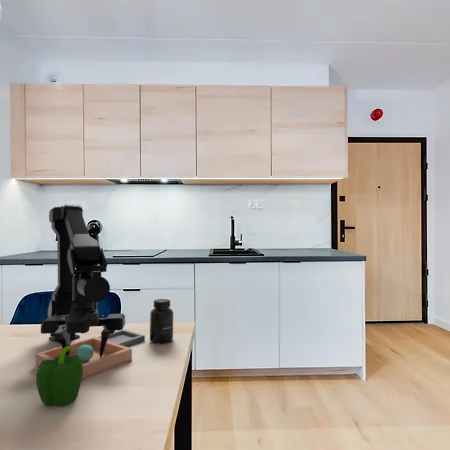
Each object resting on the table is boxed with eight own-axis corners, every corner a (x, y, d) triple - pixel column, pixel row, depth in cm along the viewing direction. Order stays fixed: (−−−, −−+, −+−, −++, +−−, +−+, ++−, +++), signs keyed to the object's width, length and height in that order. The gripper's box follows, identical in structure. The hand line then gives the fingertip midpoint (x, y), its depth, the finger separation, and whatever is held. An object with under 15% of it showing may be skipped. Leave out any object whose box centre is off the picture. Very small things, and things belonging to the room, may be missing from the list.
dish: (35, 366, 82) (35, 353, 82) (94, 347, 95) (94, 336, 95) (71, 384, 73) (71, 370, 73) (131, 360, 86) (131, 348, 86)
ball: (72, 362, 84) (72, 345, 84) (87, 357, 87) (87, 341, 87) (81, 365, 81) (81, 349, 81) (96, 360, 84) (96, 344, 84)
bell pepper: (52, 417, 60) (53, 361, 60) (27, 404, 64) (28, 352, 65) (93, 397, 67) (93, 347, 67) (68, 387, 72) (68, 339, 72)
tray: (94, 343, 99) (94, 337, 99) (123, 334, 107) (123, 329, 107) (116, 350, 93) (116, 344, 93) (144, 340, 101) (144, 335, 101)
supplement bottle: (168, 345, 97) (168, 303, 97) (145, 343, 98) (146, 302, 98) (176, 337, 104) (176, 298, 104) (155, 336, 105) (155, 297, 105)
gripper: (31, 303, 75) (31, 374, 75) (119, 300, 78) (119, 368, 78) (49, 293, 86) (48, 355, 86) (125, 291, 89) (125, 351, 89)
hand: (84, 357), depth 84 cm, fingers open, 7 cm apart
